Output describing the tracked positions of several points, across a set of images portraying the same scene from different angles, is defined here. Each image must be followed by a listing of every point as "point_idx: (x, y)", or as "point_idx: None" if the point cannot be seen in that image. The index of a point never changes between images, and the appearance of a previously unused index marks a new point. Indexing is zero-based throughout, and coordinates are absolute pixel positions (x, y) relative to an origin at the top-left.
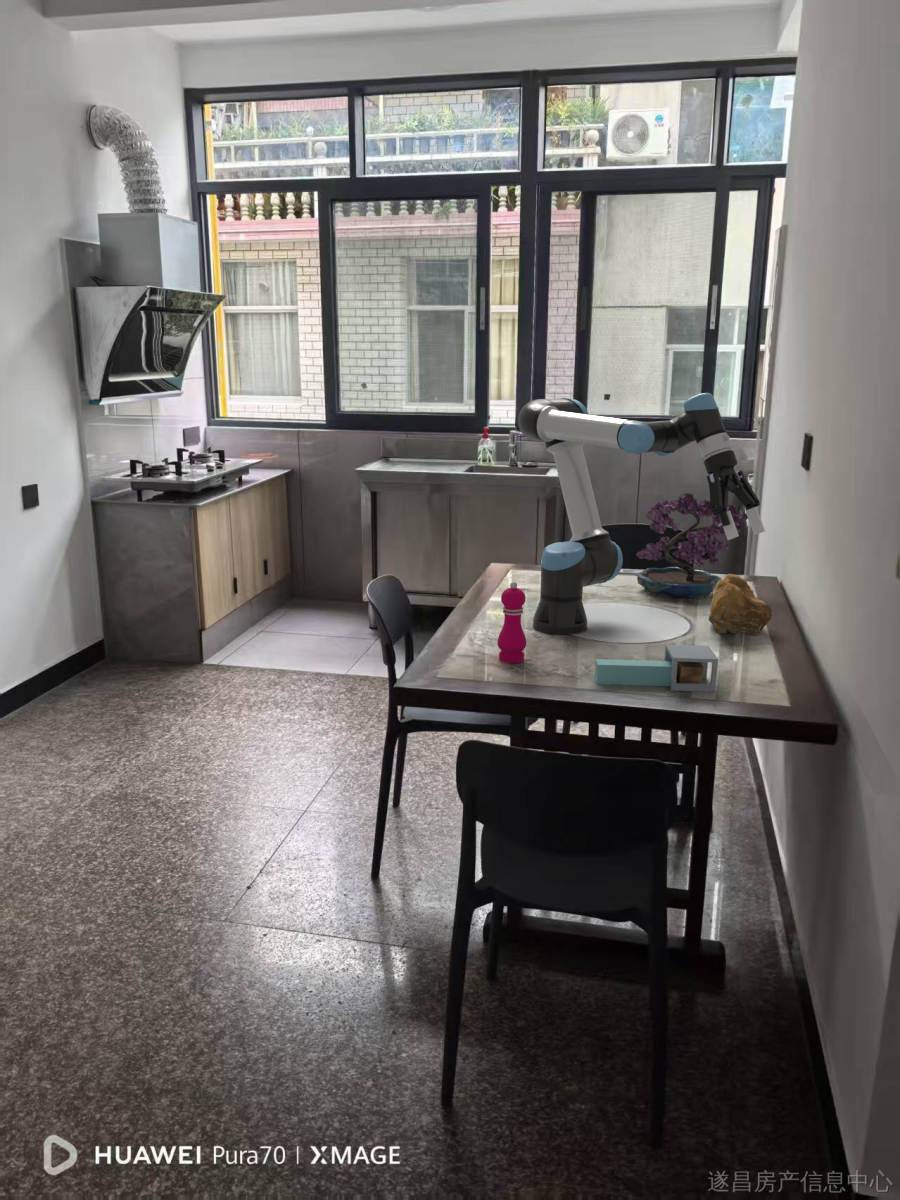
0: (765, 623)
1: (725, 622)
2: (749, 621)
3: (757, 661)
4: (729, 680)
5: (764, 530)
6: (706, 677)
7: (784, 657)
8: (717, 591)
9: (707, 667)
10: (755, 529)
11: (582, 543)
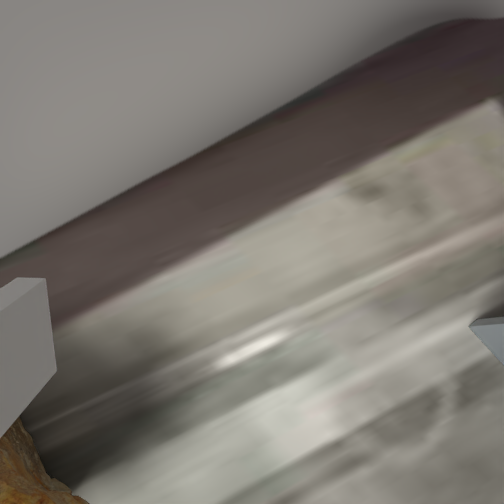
0: None
1: (53, 487)
2: None
3: (245, 285)
4: (443, 270)
5: (19, 281)
6: (477, 319)
7: (161, 248)
8: None
9: (490, 318)
10: (31, 366)
11: None
